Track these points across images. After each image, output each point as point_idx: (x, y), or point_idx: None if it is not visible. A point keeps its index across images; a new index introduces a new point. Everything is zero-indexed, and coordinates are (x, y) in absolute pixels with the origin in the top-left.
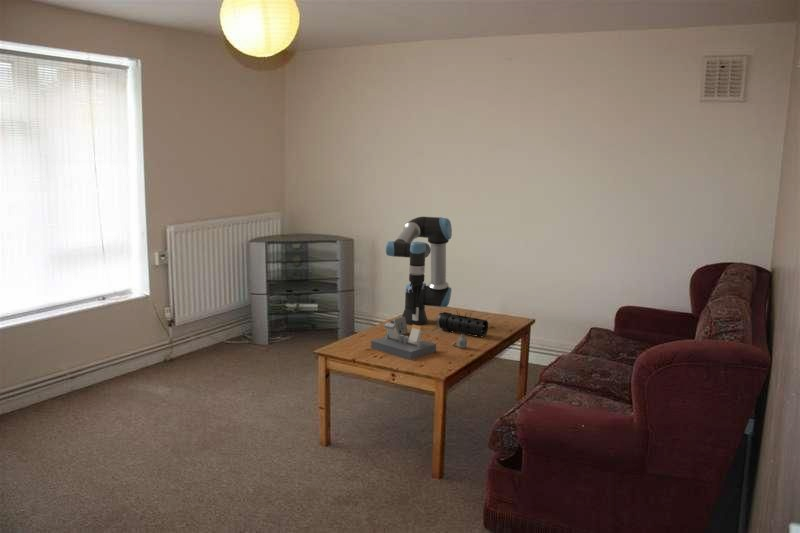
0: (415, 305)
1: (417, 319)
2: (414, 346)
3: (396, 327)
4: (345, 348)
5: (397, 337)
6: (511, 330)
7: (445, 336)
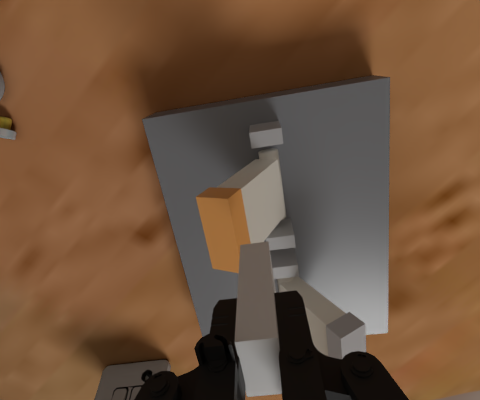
0: (316, 378)
1: (252, 249)
2: (286, 152)
3: None
4: (452, 354)
5: (294, 281)
6: None
7: None
